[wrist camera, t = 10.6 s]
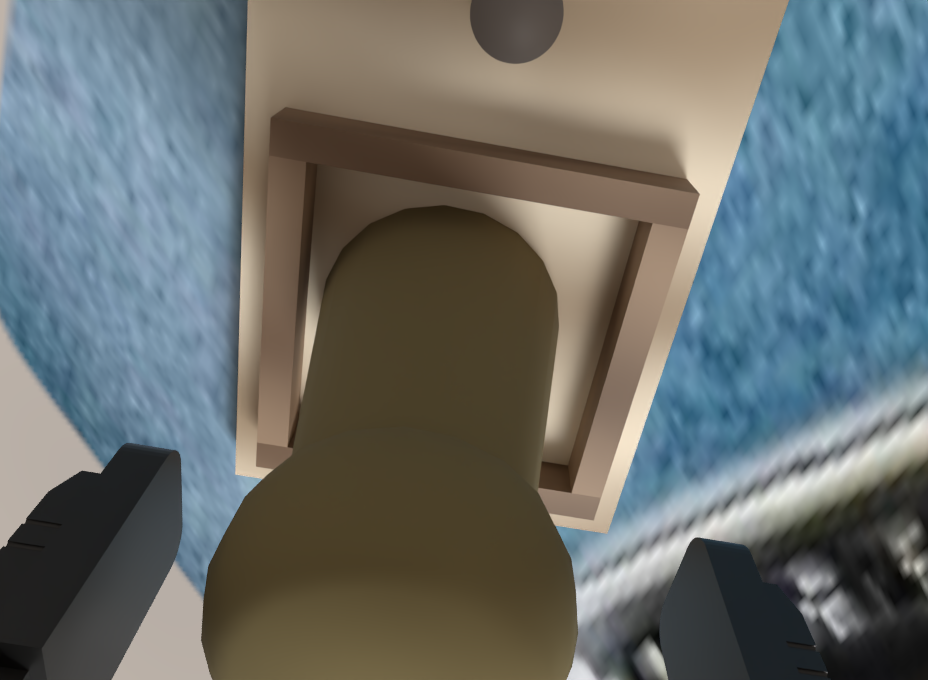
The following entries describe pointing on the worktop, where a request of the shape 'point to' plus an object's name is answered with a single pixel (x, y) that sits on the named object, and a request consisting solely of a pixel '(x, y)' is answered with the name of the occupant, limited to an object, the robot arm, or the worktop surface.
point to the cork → (409, 477)
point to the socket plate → (496, 185)
